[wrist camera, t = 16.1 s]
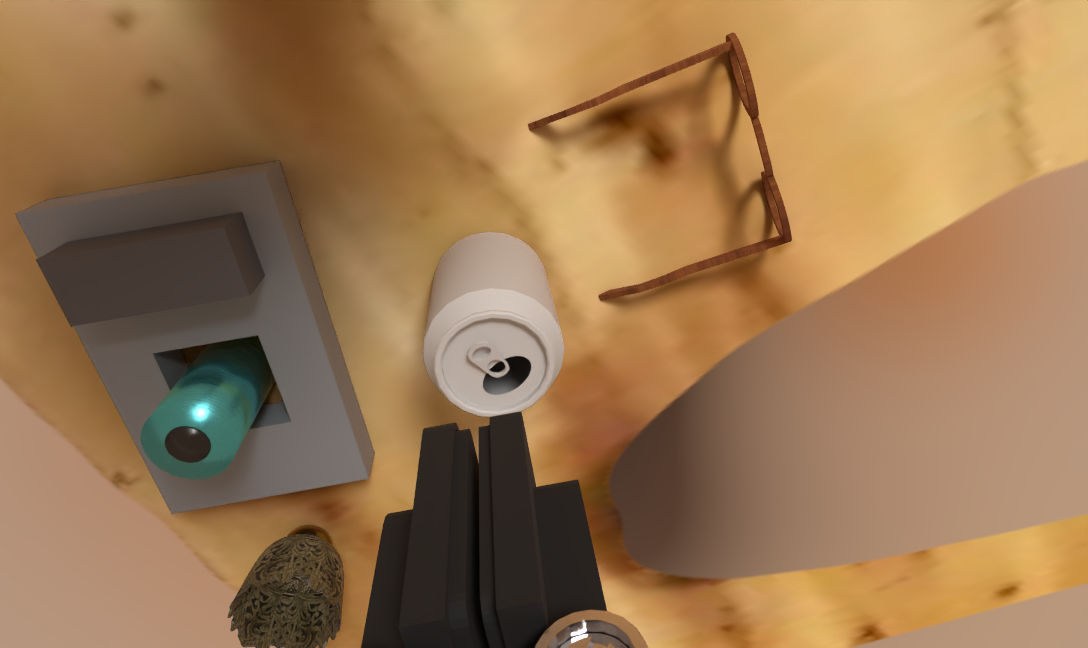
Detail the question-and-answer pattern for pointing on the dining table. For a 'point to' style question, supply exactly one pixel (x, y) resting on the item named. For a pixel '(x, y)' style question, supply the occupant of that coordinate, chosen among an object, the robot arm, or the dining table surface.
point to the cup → (291, 593)
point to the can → (492, 326)
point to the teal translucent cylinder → (209, 410)
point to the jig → (207, 318)
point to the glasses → (767, 176)
